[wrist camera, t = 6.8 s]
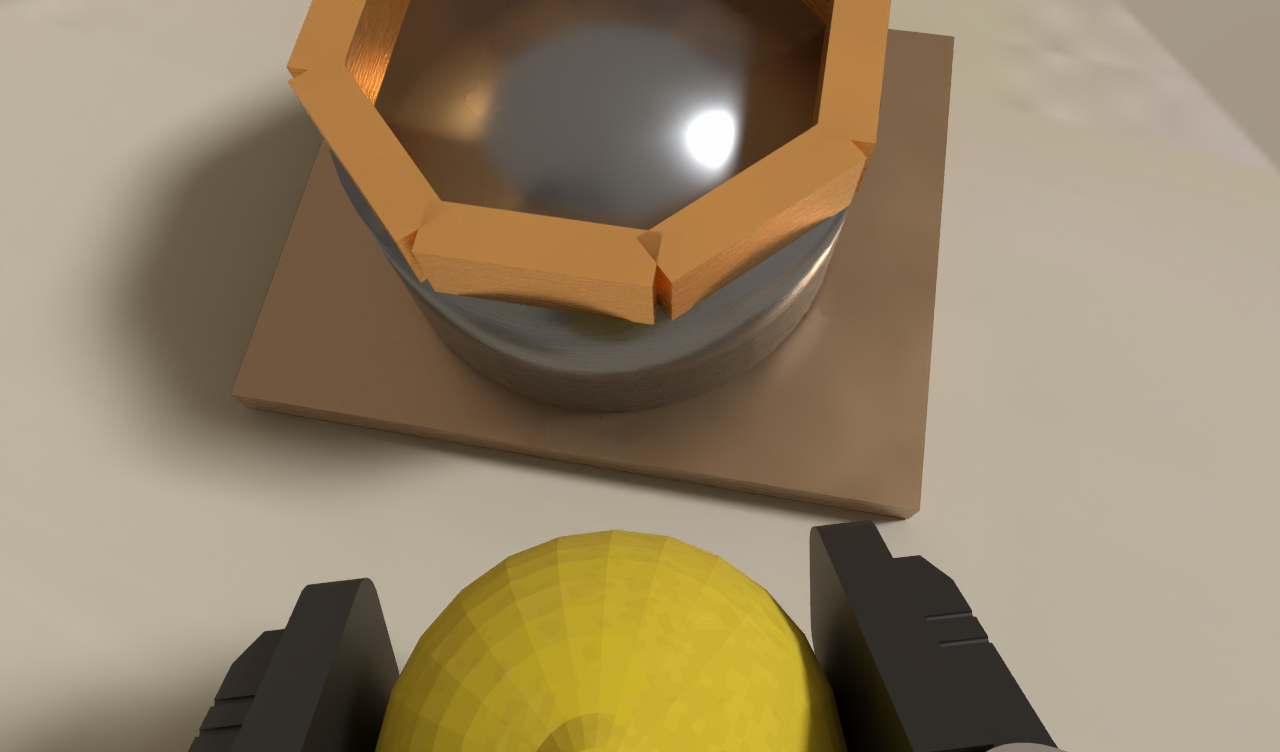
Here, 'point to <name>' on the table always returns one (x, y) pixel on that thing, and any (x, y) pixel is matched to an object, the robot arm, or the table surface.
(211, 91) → the table surface
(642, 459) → the pot on wooden stand
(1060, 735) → the table surface
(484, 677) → the lemon
